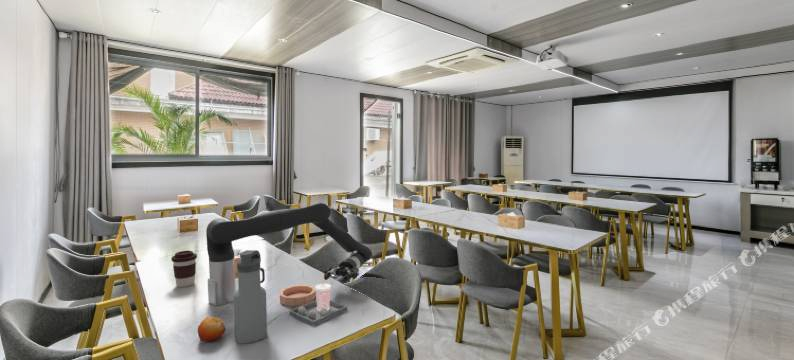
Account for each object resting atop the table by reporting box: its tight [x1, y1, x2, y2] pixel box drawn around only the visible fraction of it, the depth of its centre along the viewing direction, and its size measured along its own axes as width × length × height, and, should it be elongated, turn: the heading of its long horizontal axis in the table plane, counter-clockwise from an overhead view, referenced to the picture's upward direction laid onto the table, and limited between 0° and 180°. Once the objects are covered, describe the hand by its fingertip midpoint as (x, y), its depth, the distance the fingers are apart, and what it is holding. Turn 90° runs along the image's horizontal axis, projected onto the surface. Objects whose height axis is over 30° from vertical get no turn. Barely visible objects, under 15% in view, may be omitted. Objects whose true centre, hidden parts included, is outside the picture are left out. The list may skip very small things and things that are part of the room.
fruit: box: [197, 316, 226, 344], centre depth 116 cm, size 8×8×8 cm
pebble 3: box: [318, 308, 329, 317], centre depth 132 cm, size 3×3×3 cm
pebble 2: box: [307, 310, 317, 321], centre depth 130 cm, size 3×3×3 cm
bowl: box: [279, 284, 316, 307], centre depth 149 cm, size 14×14×3 cm
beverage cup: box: [314, 272, 332, 312], centre depth 138 cm, size 6×6×14 cm
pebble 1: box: [297, 305, 307, 316], centre depth 134 cm, size 3×3×3 cm
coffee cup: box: [170, 250, 198, 288], centre depth 165 cm, size 10×10×15 cm
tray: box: [288, 299, 348, 327], centre depth 136 cm, size 16×14×2 cm
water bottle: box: [233, 249, 268, 344], centre depth 117 cm, size 10×10×28 cm
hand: (335, 278), depth 149 cm, fingers open, 8 cm apart
